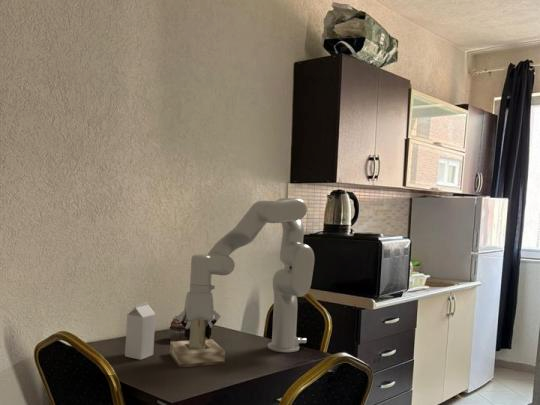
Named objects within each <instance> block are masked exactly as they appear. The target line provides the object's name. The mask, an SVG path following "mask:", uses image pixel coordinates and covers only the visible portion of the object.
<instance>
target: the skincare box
mask: <svg viewBox="0 0 540 405" xmlns="http://www.w3.org/2000/svg"><path fill="white" fill-rule="evenodd" d="M206 326H207V322H206V321H204V319H194V321H191V324H190V339H189V350H195V349H205V342H206V340H207V337H206Z"/></svg>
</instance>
